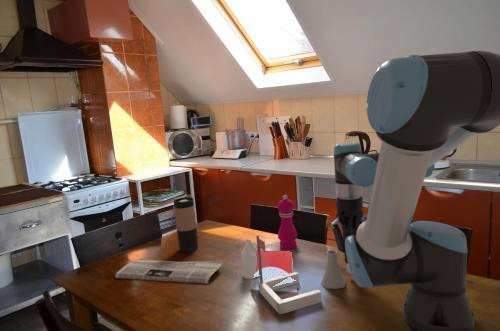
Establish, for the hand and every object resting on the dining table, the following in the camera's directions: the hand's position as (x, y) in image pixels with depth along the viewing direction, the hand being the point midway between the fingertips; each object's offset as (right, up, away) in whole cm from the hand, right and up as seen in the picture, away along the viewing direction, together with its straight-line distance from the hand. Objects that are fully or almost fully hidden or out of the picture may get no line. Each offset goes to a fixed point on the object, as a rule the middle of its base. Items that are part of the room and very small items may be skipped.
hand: (351, 272), depth 112 cm
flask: (-6, -3, -2) cm, 7 cm away
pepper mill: (-16, +1, +29) cm, 33 cm away
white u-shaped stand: (-19, -5, -7) cm, 21 cm away
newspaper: (-57, -5, +15) cm, 59 cm away
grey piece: (-30, -3, +8) cm, 31 cm away
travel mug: (-55, -1, +35) cm, 65 cm away
